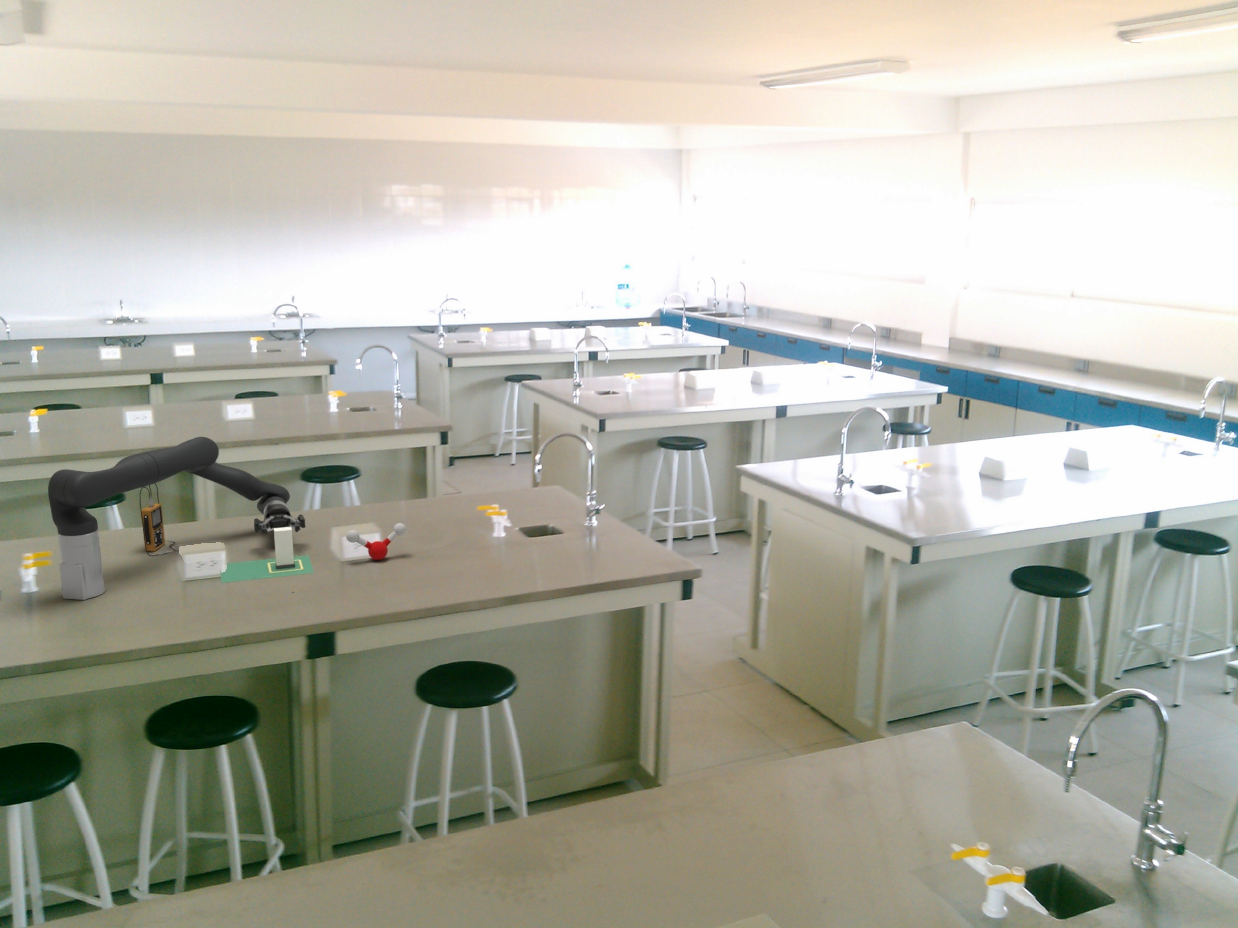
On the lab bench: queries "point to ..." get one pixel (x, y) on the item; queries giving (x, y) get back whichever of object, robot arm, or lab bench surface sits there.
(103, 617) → the lab bench surface
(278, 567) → the pin header
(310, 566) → the circuit board
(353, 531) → the molecular model
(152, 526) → the multimeter
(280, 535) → the plug
